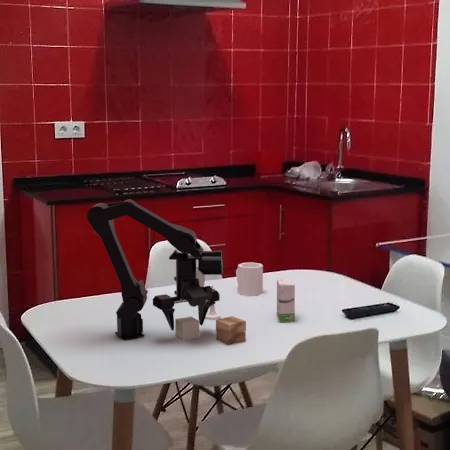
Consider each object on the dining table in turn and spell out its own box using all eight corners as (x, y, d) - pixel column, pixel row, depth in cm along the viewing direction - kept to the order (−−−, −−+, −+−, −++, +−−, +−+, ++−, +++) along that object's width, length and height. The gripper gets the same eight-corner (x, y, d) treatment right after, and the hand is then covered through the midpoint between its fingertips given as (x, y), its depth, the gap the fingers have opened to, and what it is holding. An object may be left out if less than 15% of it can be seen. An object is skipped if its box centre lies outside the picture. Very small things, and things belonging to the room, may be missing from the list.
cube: (183, 340, 214) (183, 323, 213) (175, 335, 218) (175, 318, 217) (199, 337, 216) (199, 320, 216) (190, 332, 221) (190, 316, 220)
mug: (267, 293, 262) (267, 265, 260) (247, 297, 257) (247, 269, 255) (246, 286, 272) (247, 259, 270) (227, 289, 267) (227, 262, 265)
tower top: (229, 335, 210) (229, 325, 209) (215, 330, 214) (215, 320, 214) (245, 331, 213) (245, 320, 213) (232, 326, 218) (232, 316, 217)
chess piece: (211, 314, 238) (211, 283, 237) (223, 317, 235) (223, 285, 233) (201, 317, 235) (201, 286, 233) (213, 320, 232) (213, 289, 230)
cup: (210, 297, 257) (210, 268, 256) (196, 303, 251) (196, 273, 249) (190, 293, 262) (190, 265, 260) (176, 299, 255) (176, 270, 253)
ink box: (295, 322, 230) (295, 284, 228) (278, 322, 230) (279, 284, 228) (291, 313, 238) (292, 277, 236) (275, 314, 238) (276, 277, 236)
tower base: (227, 346, 210) (227, 335, 209) (216, 340, 215) (216, 329, 214) (245, 342, 213) (245, 332, 212) (234, 336, 218) (234, 326, 217)
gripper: (169, 285, 203) (170, 341, 205) (229, 276, 212) (229, 330, 215) (151, 276, 212) (152, 329, 215) (209, 268, 221) (210, 319, 224)
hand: (186, 327), depth 217 cm, fingers open, 9 cm apart
